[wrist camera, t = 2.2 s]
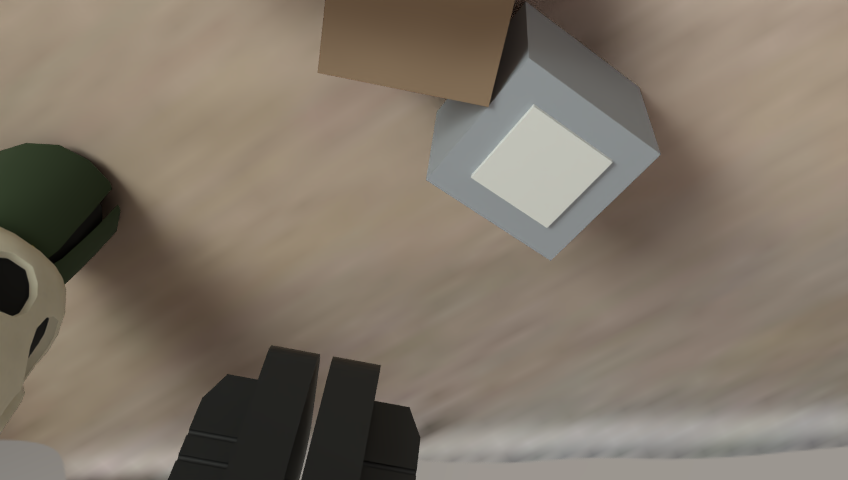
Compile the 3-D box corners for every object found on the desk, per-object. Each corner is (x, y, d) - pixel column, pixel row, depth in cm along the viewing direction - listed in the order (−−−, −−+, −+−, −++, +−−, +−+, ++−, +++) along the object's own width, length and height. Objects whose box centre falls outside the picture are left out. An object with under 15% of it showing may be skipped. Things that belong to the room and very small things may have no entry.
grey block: (547, 186, 36) (553, 265, 31) (436, 111, 35) (425, 182, 30) (641, 88, 33) (664, 159, 28) (525, 0, 32) (528, 60, 27)
